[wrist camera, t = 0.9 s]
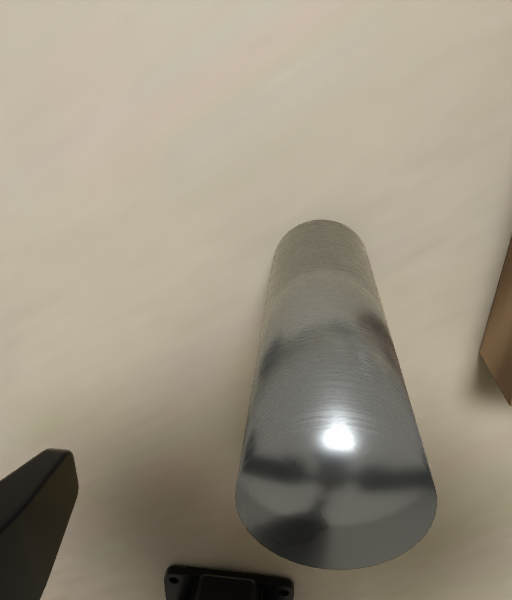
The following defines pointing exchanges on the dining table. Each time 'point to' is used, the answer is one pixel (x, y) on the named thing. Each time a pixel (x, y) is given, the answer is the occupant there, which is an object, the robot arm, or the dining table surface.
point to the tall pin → (330, 415)
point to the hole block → (501, 332)
